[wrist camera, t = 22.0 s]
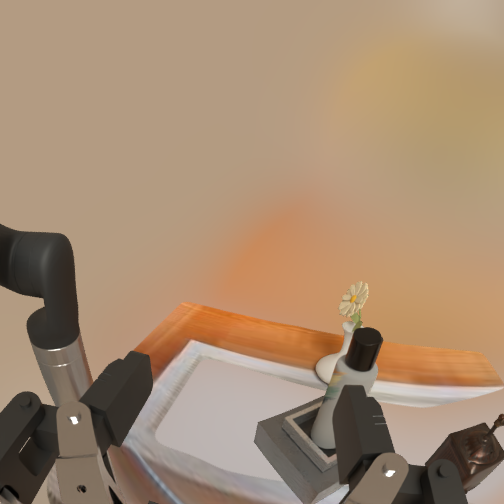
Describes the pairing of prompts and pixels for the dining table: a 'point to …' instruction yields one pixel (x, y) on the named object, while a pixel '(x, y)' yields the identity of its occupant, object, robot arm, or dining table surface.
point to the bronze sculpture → (472, 453)
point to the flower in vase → (345, 327)
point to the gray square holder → (299, 453)
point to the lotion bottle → (348, 380)
